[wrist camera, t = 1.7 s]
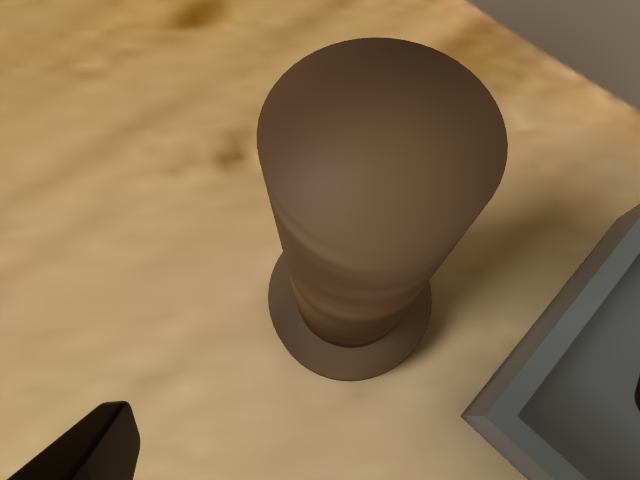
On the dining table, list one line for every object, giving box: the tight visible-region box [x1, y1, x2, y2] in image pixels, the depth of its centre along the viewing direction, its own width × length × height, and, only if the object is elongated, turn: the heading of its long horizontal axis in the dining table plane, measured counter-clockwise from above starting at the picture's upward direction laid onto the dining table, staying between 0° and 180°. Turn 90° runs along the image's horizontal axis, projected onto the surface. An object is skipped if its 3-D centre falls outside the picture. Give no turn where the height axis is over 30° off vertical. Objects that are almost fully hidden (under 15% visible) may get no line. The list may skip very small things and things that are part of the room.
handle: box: [257, 38, 508, 381], centre depth 14 cm, size 7×7×13 cm
